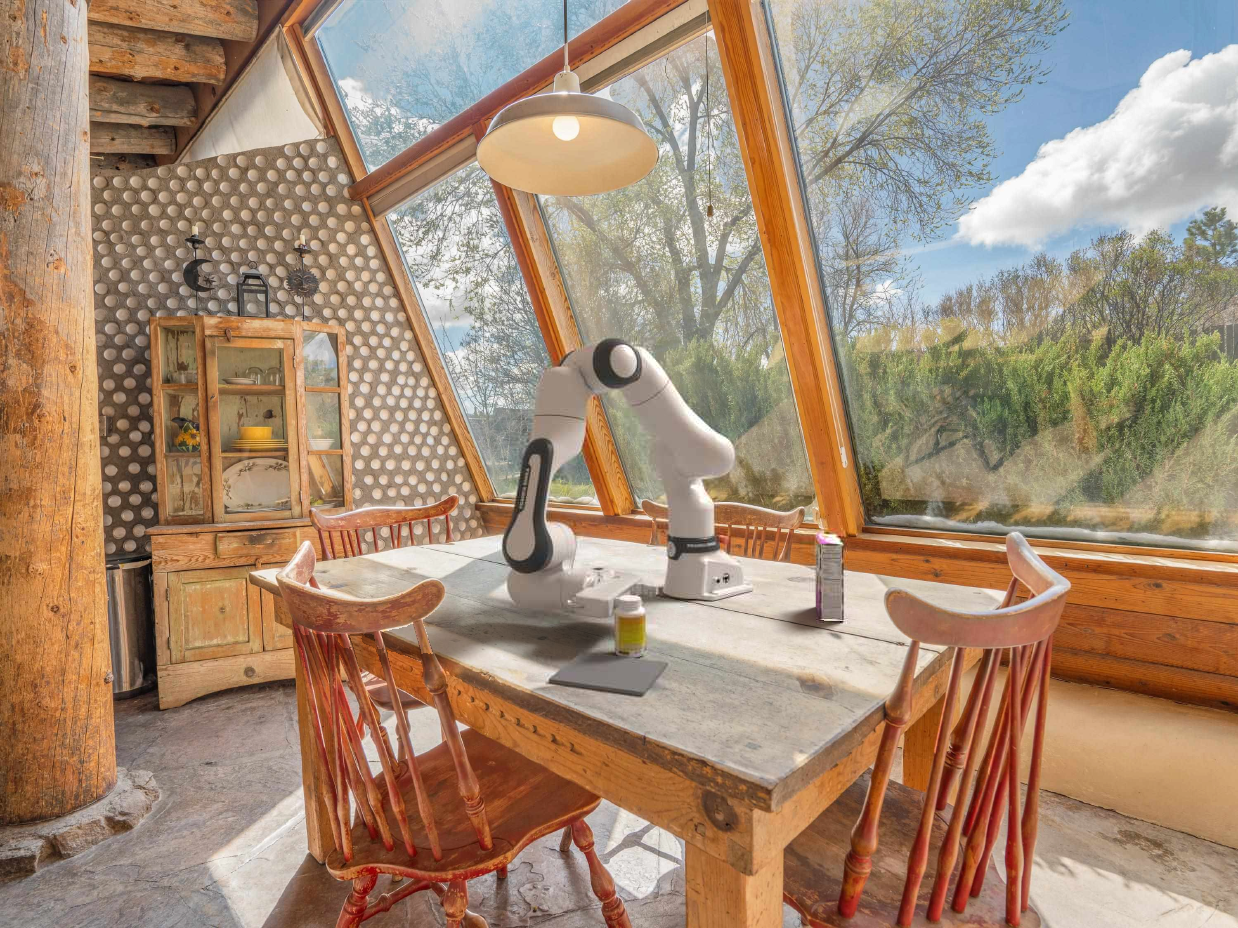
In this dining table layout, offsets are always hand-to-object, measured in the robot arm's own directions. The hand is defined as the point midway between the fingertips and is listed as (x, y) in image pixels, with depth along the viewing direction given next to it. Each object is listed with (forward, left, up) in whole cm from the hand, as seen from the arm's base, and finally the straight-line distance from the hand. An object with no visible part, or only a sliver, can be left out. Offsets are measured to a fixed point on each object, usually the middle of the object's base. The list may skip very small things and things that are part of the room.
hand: (649, 597), depth 124 cm
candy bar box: (-41, +5, -8) cm, 42 cm away
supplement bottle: (+7, +5, -8) cm, 12 cm away
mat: (+15, +12, -8) cm, 20 cm away
